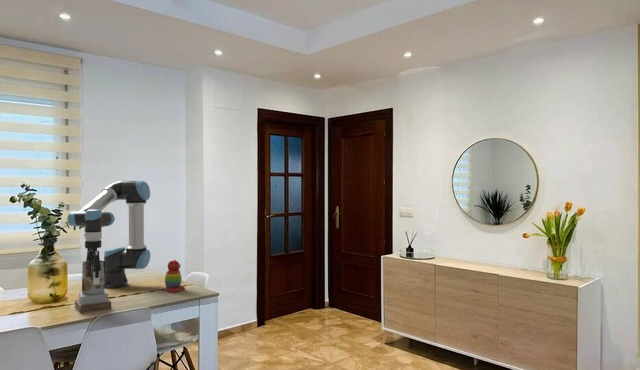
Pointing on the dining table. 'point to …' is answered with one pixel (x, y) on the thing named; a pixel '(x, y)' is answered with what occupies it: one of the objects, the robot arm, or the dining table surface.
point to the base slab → (92, 306)
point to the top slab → (93, 298)
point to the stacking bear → (173, 278)
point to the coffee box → (88, 278)
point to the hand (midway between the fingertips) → (93, 281)
